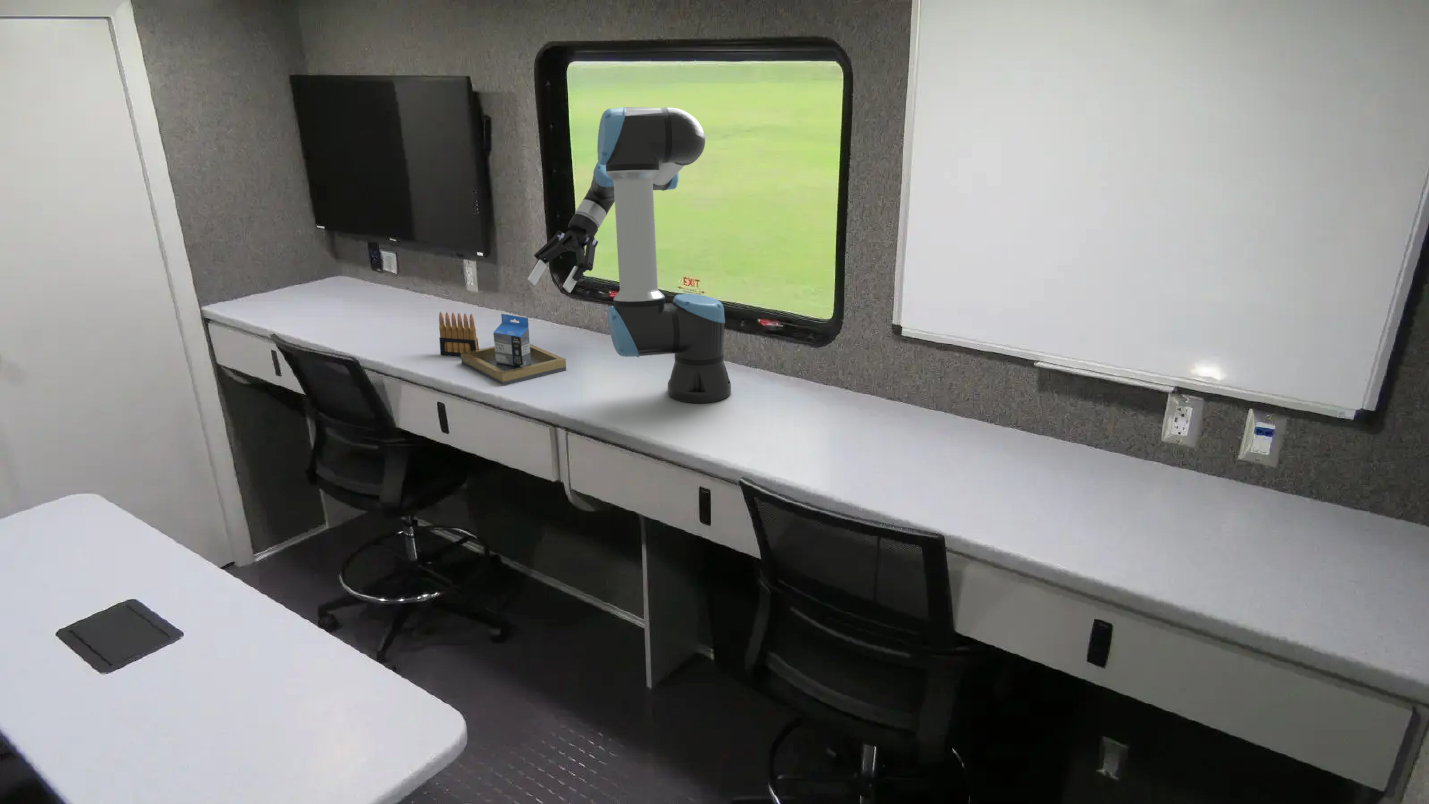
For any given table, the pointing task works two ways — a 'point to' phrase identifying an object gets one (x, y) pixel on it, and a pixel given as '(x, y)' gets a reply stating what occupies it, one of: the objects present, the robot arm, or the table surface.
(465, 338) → the ammunition clip
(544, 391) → the table surface
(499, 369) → the shallow wooden tray
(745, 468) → the table surface
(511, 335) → the blue and grey box
